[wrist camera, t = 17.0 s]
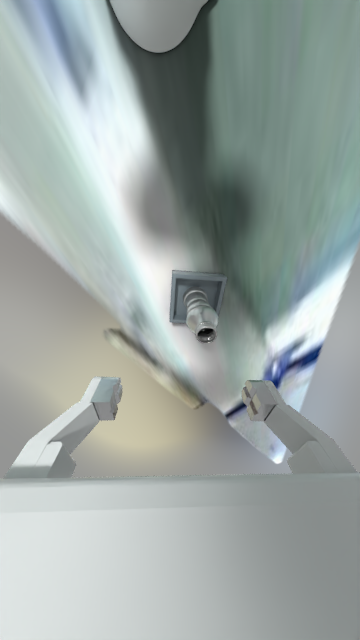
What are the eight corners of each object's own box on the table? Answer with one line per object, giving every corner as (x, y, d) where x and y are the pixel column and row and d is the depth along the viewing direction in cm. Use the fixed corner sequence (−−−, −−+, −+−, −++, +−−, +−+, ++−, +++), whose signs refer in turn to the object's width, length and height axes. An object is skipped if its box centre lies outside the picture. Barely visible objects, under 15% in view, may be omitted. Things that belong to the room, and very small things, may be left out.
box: (172, 270, 42) (172, 273, 39) (223, 274, 43) (227, 277, 40) (169, 315, 49) (169, 322, 46) (213, 318, 50) (216, 324, 47)
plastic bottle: (182, 283, 43) (188, 319, 26) (207, 284, 44) (228, 320, 26) (181, 305, 46) (186, 349, 29) (204, 305, 47) (222, 350, 29)
